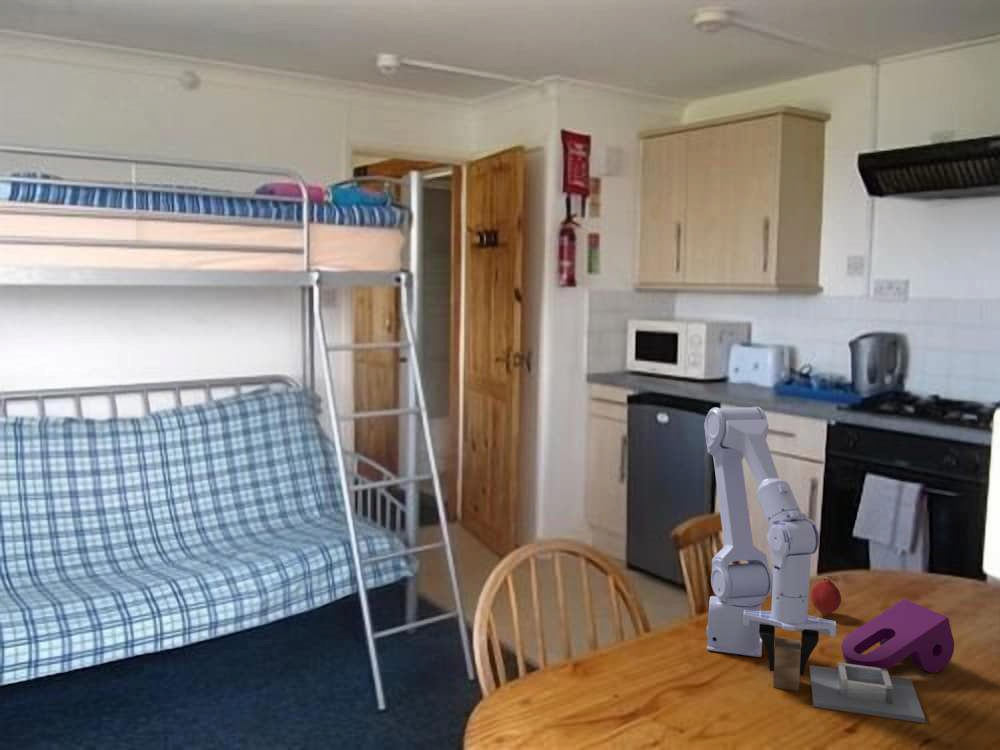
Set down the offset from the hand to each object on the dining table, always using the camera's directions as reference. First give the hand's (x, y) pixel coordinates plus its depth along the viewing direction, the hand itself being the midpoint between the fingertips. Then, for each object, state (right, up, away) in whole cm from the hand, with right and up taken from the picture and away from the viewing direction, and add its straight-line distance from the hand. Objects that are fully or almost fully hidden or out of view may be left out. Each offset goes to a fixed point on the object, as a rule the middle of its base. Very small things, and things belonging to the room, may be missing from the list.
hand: (786, 671), depth 144 cm
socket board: (+11, -3, -3) cm, 12 cm away
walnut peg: (0, -2, 0) cm, 2 cm away
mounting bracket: (+20, -1, +7) cm, 22 cm away
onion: (+18, 0, +31) cm, 36 cm away
